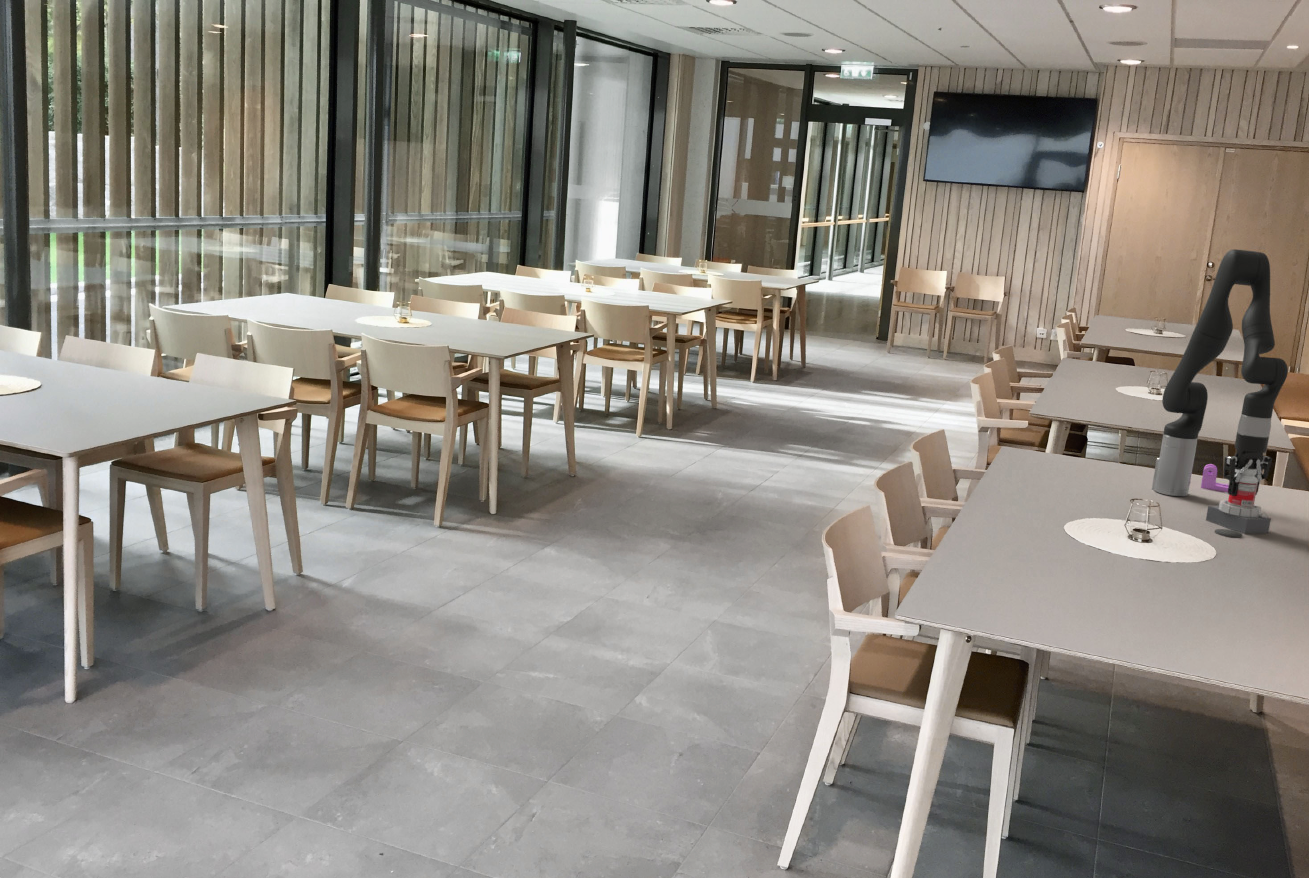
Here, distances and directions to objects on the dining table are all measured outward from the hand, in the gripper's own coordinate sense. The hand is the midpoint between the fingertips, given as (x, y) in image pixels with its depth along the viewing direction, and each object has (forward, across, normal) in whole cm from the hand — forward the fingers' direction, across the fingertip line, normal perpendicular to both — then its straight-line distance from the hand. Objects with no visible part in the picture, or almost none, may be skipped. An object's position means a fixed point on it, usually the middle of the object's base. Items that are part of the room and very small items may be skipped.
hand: (1242, 494), depth 298 cm
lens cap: (+9, +9, +6) cm, 14 cm away
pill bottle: (+4, 0, 0) cm, 4 cm away
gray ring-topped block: (+9, 0, 0) cm, 9 cm away
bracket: (+9, -33, -36) cm, 50 cm away
